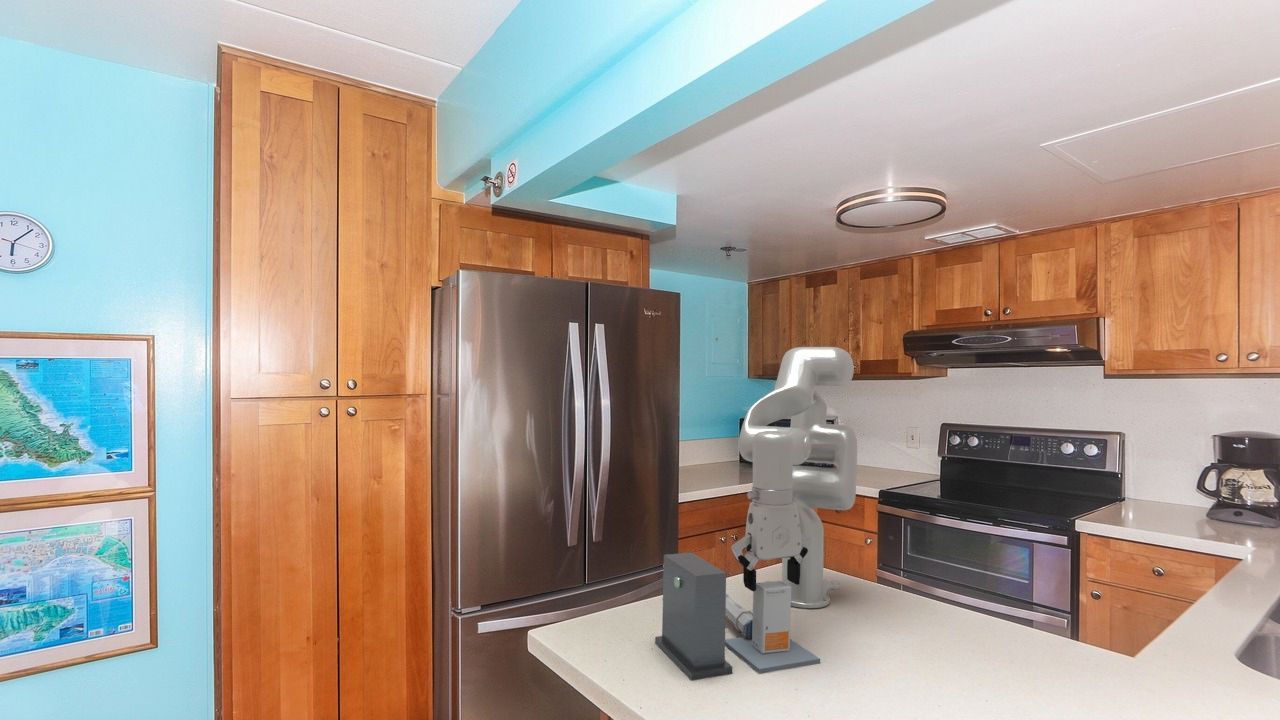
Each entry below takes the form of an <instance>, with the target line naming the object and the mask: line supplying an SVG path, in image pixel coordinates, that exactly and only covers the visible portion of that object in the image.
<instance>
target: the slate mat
mask: <svg viewBox="0 0 1280 720" xmlns="http://www.w3.org/2000/svg"><path fill="white" fill-rule="evenodd" d="M725 648H728V650H729V651H731V652H732V653H733V654H735V656H737V657H738V658H739V659H741V660H742V661H743V662H744V663H746V664H747V665H748V666H749V667H750V668H752V669H753V670H754V671H755V672H757V673H758V674H764V673H765V674H766V673H770V672H777V671H782V670H788V669H794V668H800V667H804V666H805V667H806V666H810V665H817V664H821V658H820V657H819V656H817V655H816V654H814V653H812V652H811V651H809V650H808V649H807V648H805V647H803V646H802V645H801V644H799V643H797V642H796V641H795V640H793V639H791V638H790V650H789V651H781V652H771V653H764V654H762V653H761V652H760V651H758V650H757V649H756V648H755V647H754V646H753V645H752V639H750V640H749V639H748V638H747V637H746V636H740V637H733V638H727V639H726V638H725Z"/></svg>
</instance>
